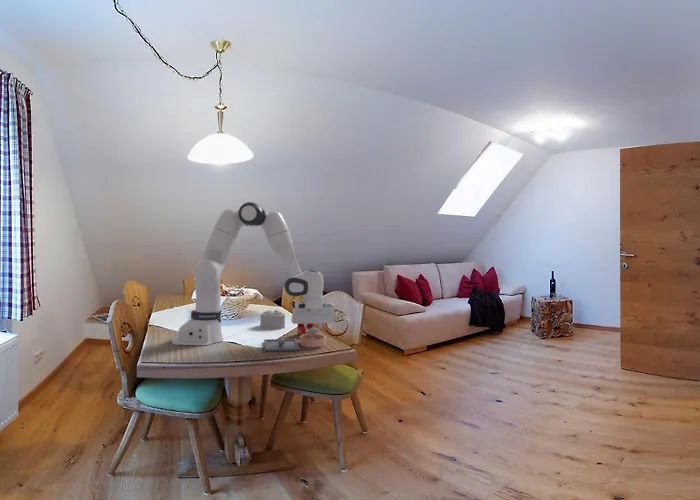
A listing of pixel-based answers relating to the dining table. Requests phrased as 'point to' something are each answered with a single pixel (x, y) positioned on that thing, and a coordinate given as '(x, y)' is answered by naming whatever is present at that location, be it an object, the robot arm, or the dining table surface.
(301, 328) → the canned food
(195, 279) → the robot arm
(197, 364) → the dining table surface
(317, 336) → the bowl
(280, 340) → the pebble
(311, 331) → the pebble
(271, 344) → the tray
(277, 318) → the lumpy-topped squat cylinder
